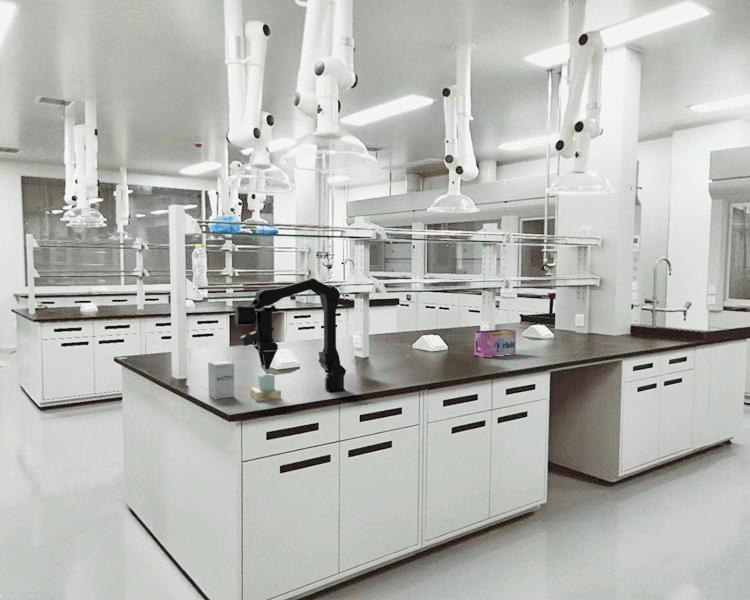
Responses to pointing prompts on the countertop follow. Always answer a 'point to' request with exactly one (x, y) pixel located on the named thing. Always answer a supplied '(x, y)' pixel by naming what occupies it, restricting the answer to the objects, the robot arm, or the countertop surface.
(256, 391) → the beech block
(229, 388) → the supplement box
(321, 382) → the countertop surface
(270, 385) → the teal cube
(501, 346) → the gum box
